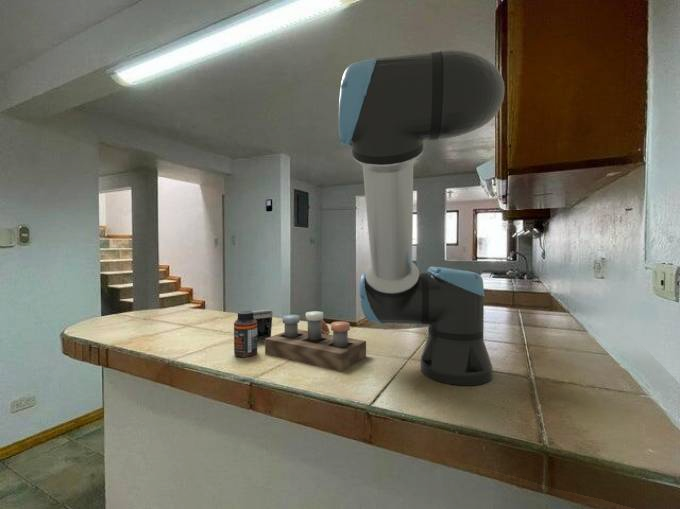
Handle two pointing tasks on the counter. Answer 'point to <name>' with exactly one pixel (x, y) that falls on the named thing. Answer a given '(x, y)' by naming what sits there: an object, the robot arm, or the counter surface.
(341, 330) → the key red
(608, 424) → the counter surface
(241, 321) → the supplement bottle
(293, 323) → the grey cylindrical piece
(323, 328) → the fruit slice
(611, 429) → the counter surface
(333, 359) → the wooden peg holder
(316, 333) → the key white
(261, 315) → the electrical switch
